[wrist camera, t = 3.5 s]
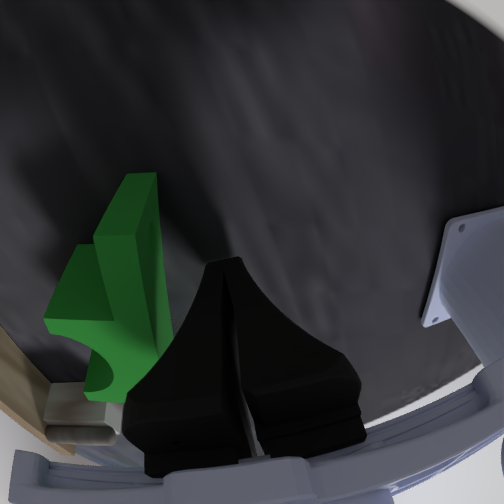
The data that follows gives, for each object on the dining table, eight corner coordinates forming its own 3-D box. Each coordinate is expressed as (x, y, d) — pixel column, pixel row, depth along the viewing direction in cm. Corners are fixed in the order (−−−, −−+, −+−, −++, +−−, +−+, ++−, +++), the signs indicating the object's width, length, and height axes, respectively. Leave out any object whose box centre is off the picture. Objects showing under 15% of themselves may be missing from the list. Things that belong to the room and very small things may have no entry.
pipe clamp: (66, 175, 10) (10, 237, 7) (157, 169, 11) (135, 232, 7) (116, 361, 17) (107, 430, 13) (178, 362, 17) (178, 433, 13)
